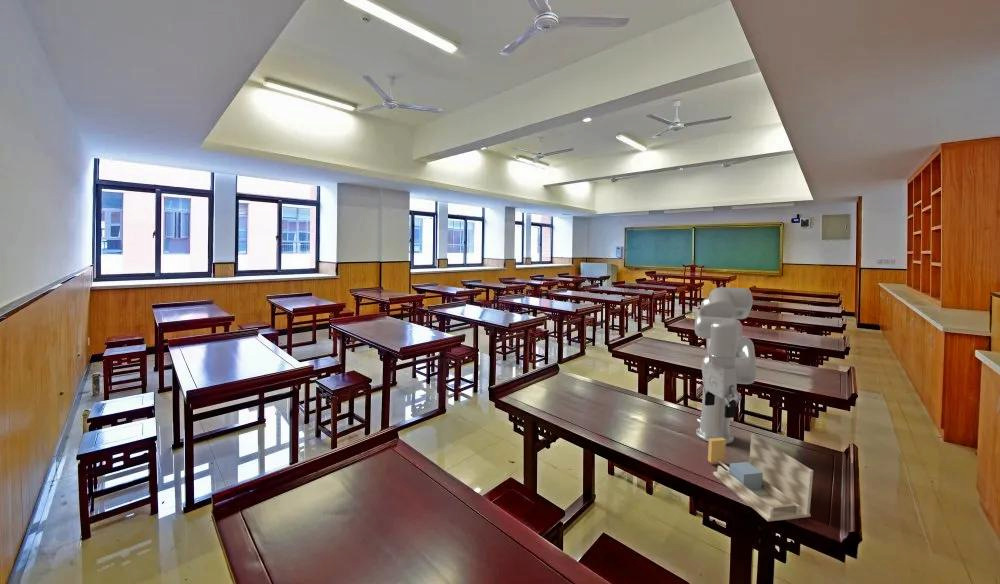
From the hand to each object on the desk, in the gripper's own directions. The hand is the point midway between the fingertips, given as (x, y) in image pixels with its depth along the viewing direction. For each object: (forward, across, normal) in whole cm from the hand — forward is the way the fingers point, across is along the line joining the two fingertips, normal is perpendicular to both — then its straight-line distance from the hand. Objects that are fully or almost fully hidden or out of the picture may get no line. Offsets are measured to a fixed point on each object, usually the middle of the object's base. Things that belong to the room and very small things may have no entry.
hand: (719, 411), depth 133 cm
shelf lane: (+18, +17, +1) cm, 25 cm away
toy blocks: (+17, +8, 0) cm, 19 cm away
